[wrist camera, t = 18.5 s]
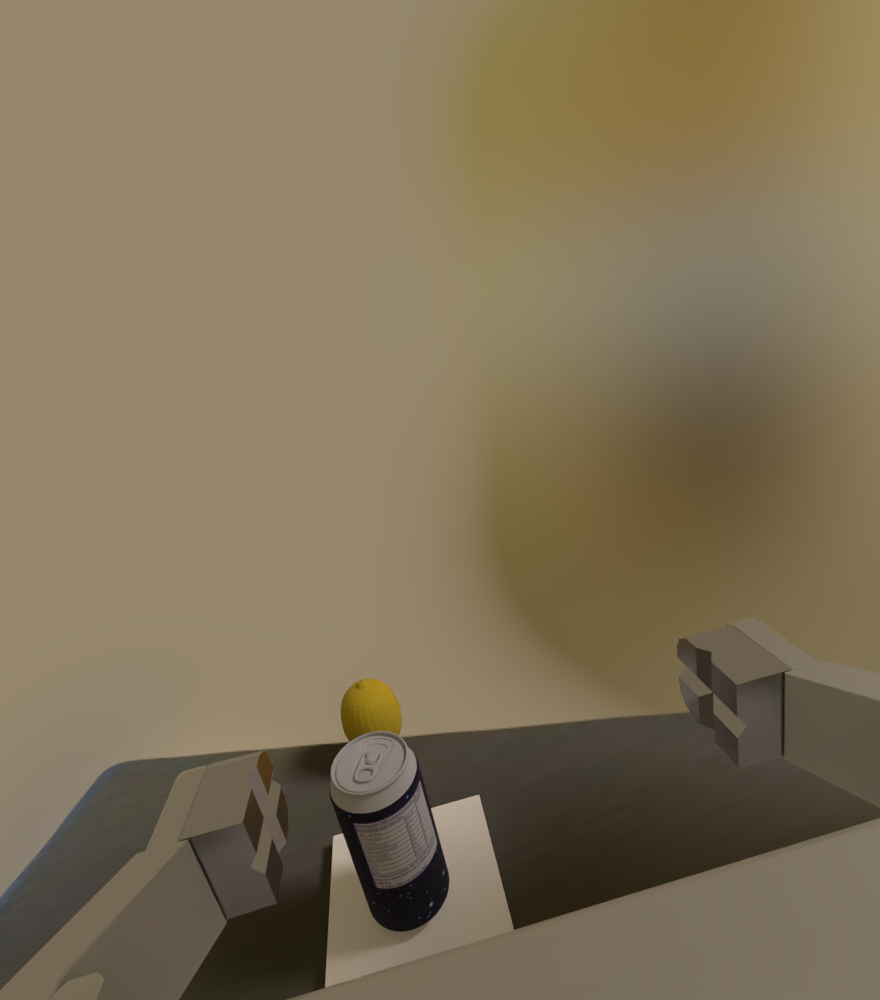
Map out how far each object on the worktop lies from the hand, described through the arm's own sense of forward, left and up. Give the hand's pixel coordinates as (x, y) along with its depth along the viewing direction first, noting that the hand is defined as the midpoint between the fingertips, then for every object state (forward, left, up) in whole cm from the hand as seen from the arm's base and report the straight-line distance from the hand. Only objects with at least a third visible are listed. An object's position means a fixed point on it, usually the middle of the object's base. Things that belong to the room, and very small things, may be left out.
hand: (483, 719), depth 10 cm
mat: (+6, -19, -30) cm, 36 cm away
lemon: (+8, -34, -30) cm, 46 cm away
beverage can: (+6, -19, -29) cm, 35 cm away
